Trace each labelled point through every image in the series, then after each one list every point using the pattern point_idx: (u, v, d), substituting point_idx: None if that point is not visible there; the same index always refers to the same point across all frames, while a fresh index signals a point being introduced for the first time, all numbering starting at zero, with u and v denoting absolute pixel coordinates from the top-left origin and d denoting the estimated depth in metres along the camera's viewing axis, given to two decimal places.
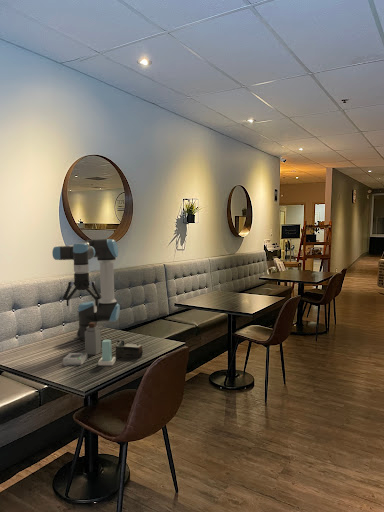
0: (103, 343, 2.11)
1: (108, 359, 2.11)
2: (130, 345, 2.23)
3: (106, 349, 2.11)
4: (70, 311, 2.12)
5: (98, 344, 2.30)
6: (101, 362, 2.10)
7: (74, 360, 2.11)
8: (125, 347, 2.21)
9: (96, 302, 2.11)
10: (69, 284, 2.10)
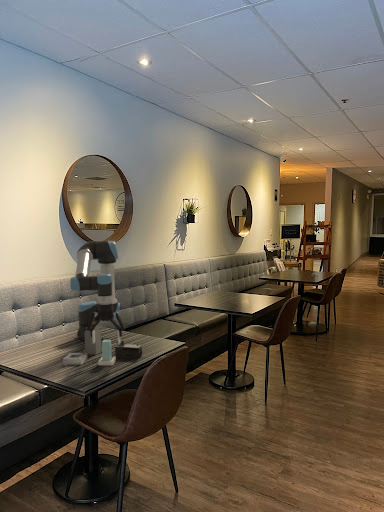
0: (103, 343, 2.11)
1: (108, 359, 2.11)
2: (130, 345, 2.22)
3: (106, 349, 2.11)
4: (94, 342, 2.12)
5: (98, 344, 2.30)
6: (101, 362, 2.10)
7: (74, 360, 2.11)
8: (125, 347, 2.20)
9: (120, 333, 2.11)
10: (93, 315, 2.10)
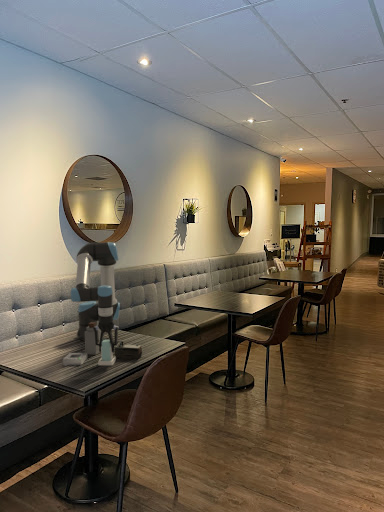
0: (103, 343, 2.11)
1: (108, 359, 2.11)
2: (129, 346, 2.21)
3: (106, 349, 2.11)
4: None
5: None
6: (101, 362, 2.10)
7: (74, 360, 2.11)
8: (124, 348, 2.20)
9: (112, 348, 2.12)
10: (95, 329, 2.11)
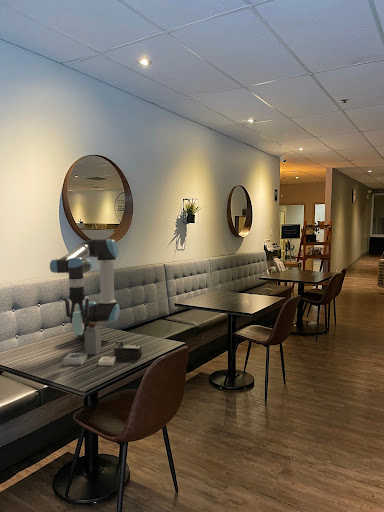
0: (74, 314, 2.12)
1: (79, 330, 2.13)
2: (129, 346, 2.21)
3: (77, 320, 2.12)
4: None
5: (98, 344, 2.30)
6: (101, 362, 2.10)
7: (74, 360, 2.11)
8: (124, 348, 2.19)
9: (83, 319, 2.14)
10: (65, 301, 2.12)
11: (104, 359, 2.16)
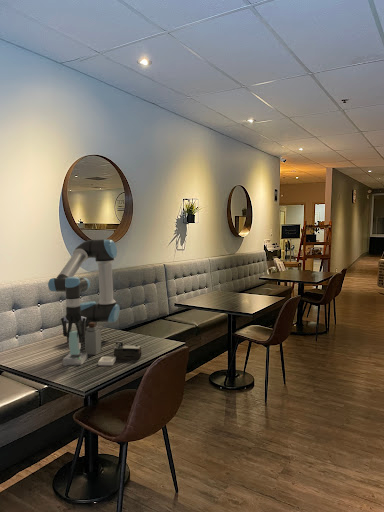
0: (70, 334, 2.13)
1: (75, 350, 2.14)
2: (129, 346, 2.20)
3: (73, 340, 2.13)
4: None
5: (98, 344, 2.30)
6: (101, 362, 2.10)
7: (74, 360, 2.11)
8: (124, 349, 2.18)
9: (80, 339, 2.14)
10: (62, 320, 2.14)
11: (104, 359, 2.16)
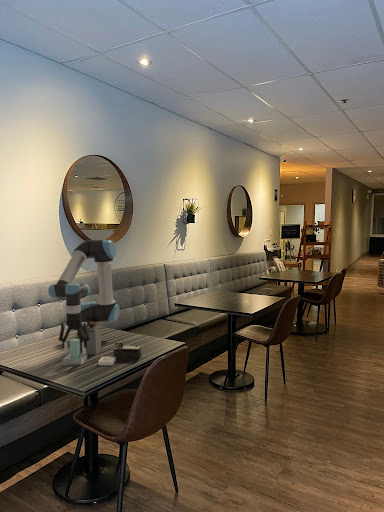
0: (71, 342, 2.13)
1: None
2: (129, 347, 2.19)
3: (74, 348, 2.14)
4: (66, 352, 2.15)
5: (98, 344, 2.30)
6: (101, 362, 2.10)
7: (74, 360, 2.11)
8: (124, 349, 2.17)
9: (85, 344, 2.15)
10: (62, 325, 2.14)
11: (104, 359, 2.16)
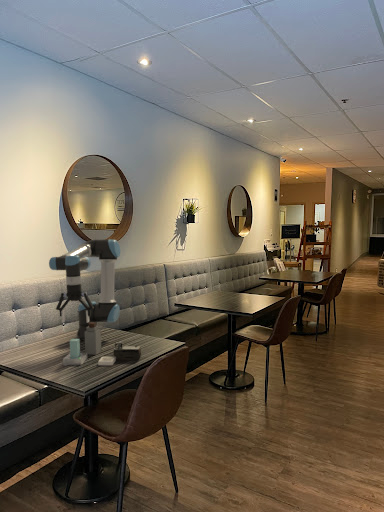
0: (71, 342, 2.13)
1: None
2: (128, 347, 2.19)
3: (74, 348, 2.14)
4: (63, 321, 2.18)
5: (98, 344, 2.30)
6: (101, 362, 2.10)
7: (74, 360, 2.11)
8: (124, 350, 2.17)
9: (88, 312, 2.17)
10: (62, 295, 2.16)
11: (104, 359, 2.16)
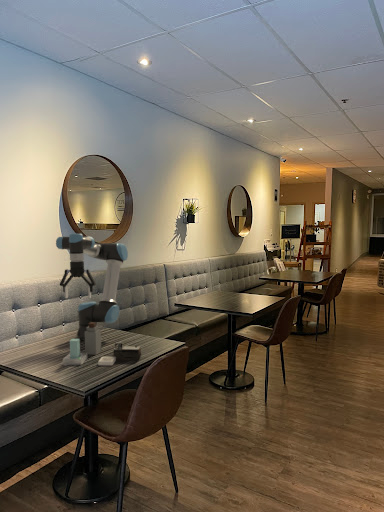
0: (71, 342, 2.13)
1: None
2: (128, 347, 2.18)
3: (74, 348, 2.14)
4: (66, 297, 2.27)
5: (98, 344, 2.30)
6: (101, 362, 2.10)
7: (74, 360, 2.11)
8: (124, 350, 2.16)
9: (91, 288, 2.26)
10: (65, 272, 2.26)
11: (104, 359, 2.16)
